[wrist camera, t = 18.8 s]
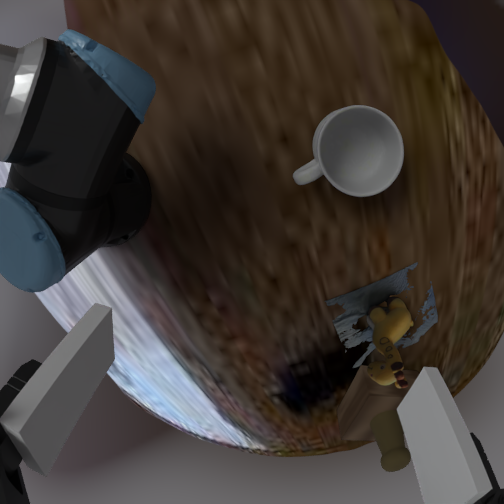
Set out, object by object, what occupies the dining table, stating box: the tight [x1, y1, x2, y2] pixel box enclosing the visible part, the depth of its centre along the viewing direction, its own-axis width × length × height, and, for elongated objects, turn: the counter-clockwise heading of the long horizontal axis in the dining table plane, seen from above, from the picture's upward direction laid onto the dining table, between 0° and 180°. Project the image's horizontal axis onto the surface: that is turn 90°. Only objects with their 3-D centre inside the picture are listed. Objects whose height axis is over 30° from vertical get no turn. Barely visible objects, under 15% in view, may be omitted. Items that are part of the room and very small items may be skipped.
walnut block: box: [337, 365, 419, 441], centre depth 53 cm, size 13×13×8 cm
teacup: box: [293, 105, 404, 197], centre depth 38 cm, size 14×11×8 cm
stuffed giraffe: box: [325, 262, 438, 388], centre depth 44 cm, size 16×18×16 cm
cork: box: [370, 410, 411, 472], centre depth 44 cm, size 6×6×11 cm
